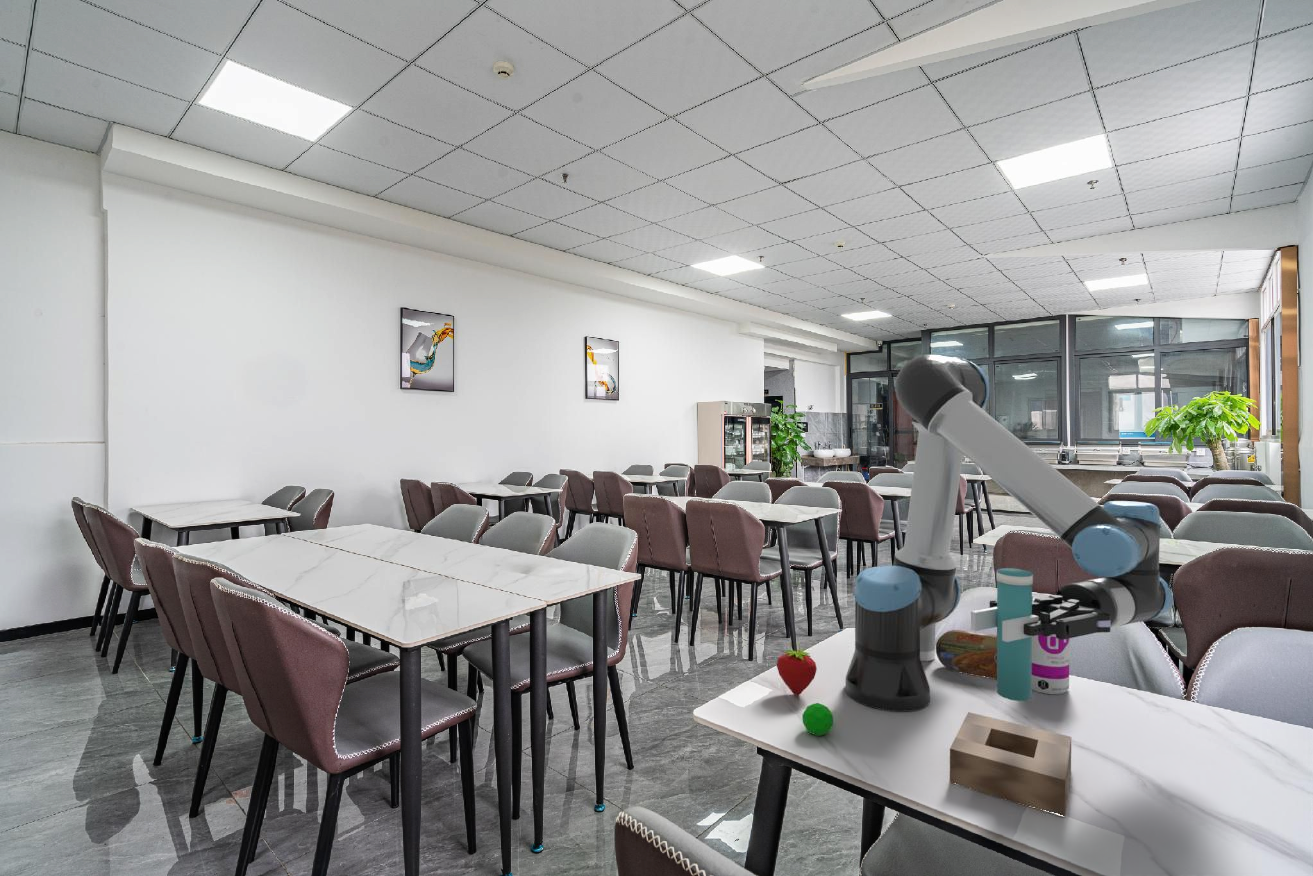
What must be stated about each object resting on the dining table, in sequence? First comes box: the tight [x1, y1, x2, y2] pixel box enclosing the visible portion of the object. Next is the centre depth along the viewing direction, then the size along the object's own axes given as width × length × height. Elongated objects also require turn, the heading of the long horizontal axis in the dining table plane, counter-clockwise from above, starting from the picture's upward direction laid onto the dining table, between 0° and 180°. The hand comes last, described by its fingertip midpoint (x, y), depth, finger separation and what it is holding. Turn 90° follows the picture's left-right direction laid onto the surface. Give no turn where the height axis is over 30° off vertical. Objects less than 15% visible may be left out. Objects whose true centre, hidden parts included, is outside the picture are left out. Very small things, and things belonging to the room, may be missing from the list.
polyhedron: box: [802, 702, 834, 736], centre depth 106 cm, size 5×5×5 cm
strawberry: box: [776, 641, 818, 696], centre depth 121 cm, size 6×8×10 cm
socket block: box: [949, 711, 1072, 817], centre depth 93 cm, size 14×14×5 cm
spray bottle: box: [920, 623, 937, 662], centre depth 141 cm, size 7×7×18 cm
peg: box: [995, 567, 1034, 702], centre depth 93 cm, size 5×5×18 cm
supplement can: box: [1031, 634, 1071, 695], centre depth 124 cm, size 8×8×15 cm
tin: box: [935, 629, 997, 680], centre depth 131 cm, size 15×3×8 cm, turn 58°
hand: (988, 626), depth 90 cm, fingers closed on peg, 4 cm apart
